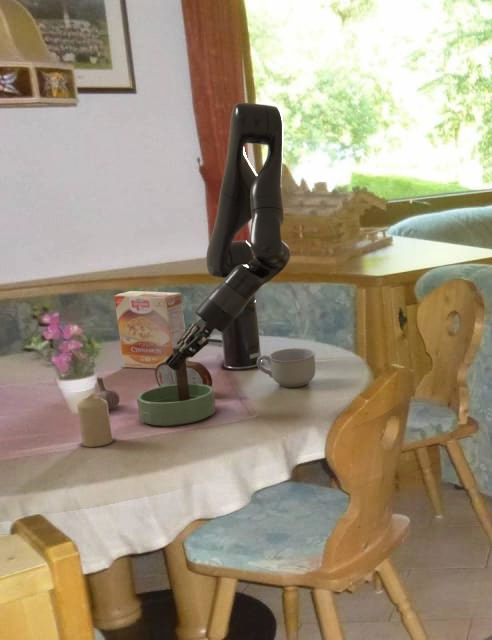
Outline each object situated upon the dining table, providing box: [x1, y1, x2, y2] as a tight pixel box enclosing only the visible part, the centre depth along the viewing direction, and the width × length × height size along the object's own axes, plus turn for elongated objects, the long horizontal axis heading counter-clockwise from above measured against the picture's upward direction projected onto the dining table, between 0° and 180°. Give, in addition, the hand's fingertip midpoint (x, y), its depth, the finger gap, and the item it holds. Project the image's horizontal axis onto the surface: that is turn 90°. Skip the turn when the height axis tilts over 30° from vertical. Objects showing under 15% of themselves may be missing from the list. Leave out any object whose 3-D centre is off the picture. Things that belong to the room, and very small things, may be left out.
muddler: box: [172, 346, 190, 401], centre depth 228 cm, size 5×5×14 cm
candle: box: [76, 394, 113, 448], centre depth 211 cm, size 6×6×10 cm
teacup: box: [257, 347, 316, 388], centre depth 254 cm, size 14×11×8 cm
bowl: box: [136, 383, 217, 427], centre depth 228 cm, size 16×16×6 cm
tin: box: [154, 360, 213, 387], centre depth 244 cm, size 15×3×8 cm, turn 71°
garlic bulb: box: [89, 376, 120, 411], centre depth 233 cm, size 8×7×8 cm
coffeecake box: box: [114, 290, 190, 370], centre depth 269 cm, size 15×7×20 cm, turn 81°
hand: (170, 366), depth 226 cm, fingers closed on muddler, 2 cm apart
